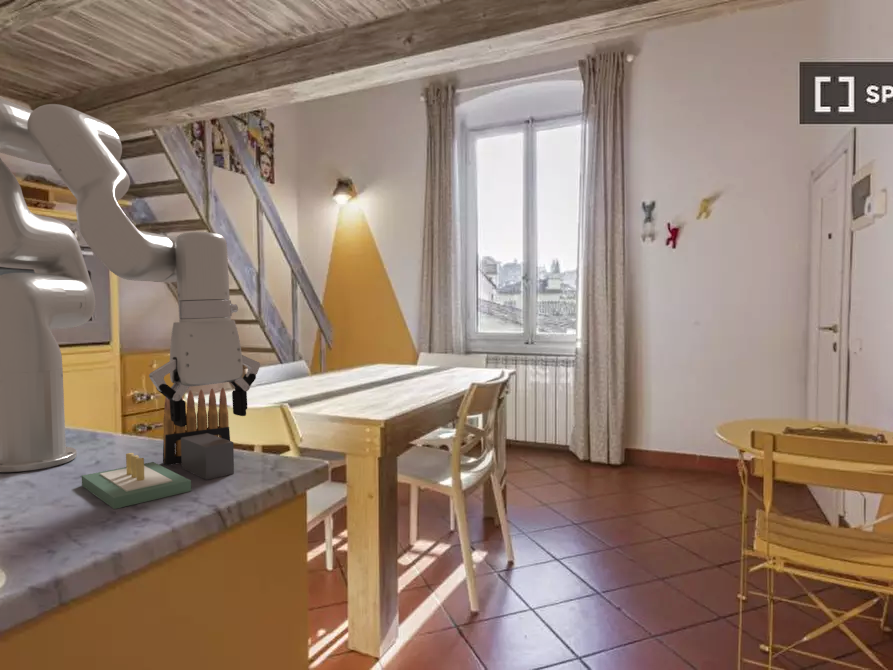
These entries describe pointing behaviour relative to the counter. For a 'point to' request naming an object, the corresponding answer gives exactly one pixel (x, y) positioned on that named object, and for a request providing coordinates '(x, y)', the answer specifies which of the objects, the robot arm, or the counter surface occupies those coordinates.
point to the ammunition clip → (194, 424)
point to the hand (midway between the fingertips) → (211, 420)
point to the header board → (135, 483)
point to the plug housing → (207, 455)
